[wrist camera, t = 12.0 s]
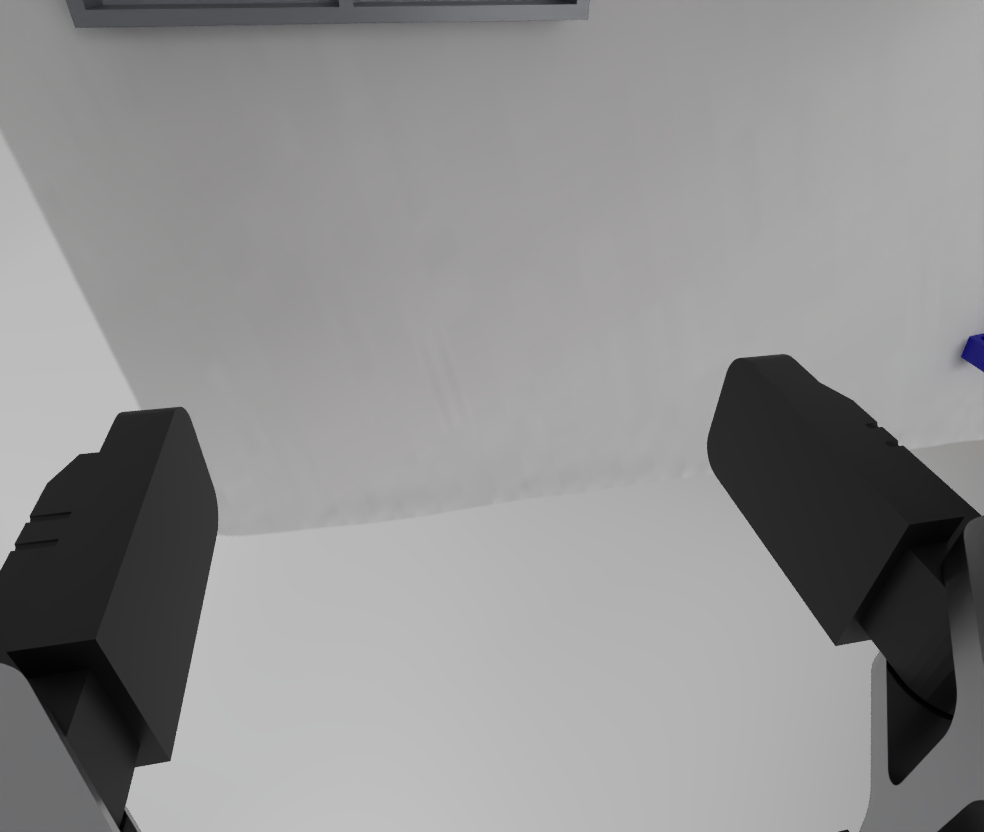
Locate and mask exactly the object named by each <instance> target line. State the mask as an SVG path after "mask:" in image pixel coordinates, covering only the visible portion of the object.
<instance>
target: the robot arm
mask: <svg viewBox="0 0 984 832" xmlns="http://www.w3.org/2000/svg"><path fill="white" fill-rule="evenodd" d="M707 452H708V458H709V462H710V465H711V468H712V470H713V472H714V474H715V475H716V477H717V478H718V480H719V481H720V483H721V484H722V485H723V487H724V488H725V489H726V491H727V492H728V494H729V495H730V497H731V498H732V500H733V501H734V502H735V504H736V505H737V507H738V508H739V510H740V511H741V512H742V514H743V515H744V517H745V518H746V519H747V520H748V522H749V524H750V525H751V526H752V528H753V529H754V531H755V532H756V534H757V535H758V537H759V538H760V539H761V541H762V542H763V544H764V545H765V547H766V548H767V549H768V551H769V552H770V554H771V555H772V556H773V558H774V559H775V561H776V562H777V563H778V565H779V566H780V568H781V569H782V571H783V572H784V574H785V575H786V576H787V578H788V579H789V581H790V582H791V583H792V585H793V586H794V587H795V589H796V591H797V592H798V593H799V595H800V596H801V598H802V599H803V601H804V602H805V603H806V605H807V606H808V607H809V609H810V610H811V612H812V613H813V615H814V616H815V618H816V619H817V620H818V622H819V623H820V625H821V626H822V627H823V629H824V630H825V632H826V633H827V635H828V636H829V637H830V639H831V640H832V642H833V643H834V644H835V646H838V645H843V644H849V643H855V642H860V641H866V640H872V641H873V642H874V644H875V645H876V646H877V648H878V649H879V650H880V651H879V653H878V654H877V656H876V657H875V659H874V661H873V664H872V670H871V792H870V800H869V805H868V809H867V813H866V816H865V819H864V821H863V824H862V826H861V829H860V831H859V832H984V516H981V515H980V514H979V513H978V512H977V511H976V510H975V509H974V508H972V507H971V506H970V505H969V504H968V503H967V502H966V501H965V500H963V499H962V498H961V497H960V496H959V495H958V494H957V493H956V492H954V491H953V490H952V489H951V488H950V487H949V486H948V485H947V484H946V483H944V482H943V481H942V480H941V479H940V478H939V477H938V476H937V475H935V474H934V473H933V472H932V471H931V470H930V469H929V468H927V466H925V465H924V464H923V463H922V462H921V461H920V460H919V459H918V458H917V457H915V456H914V455H913V454H912V453H911V452H910V451H909V450H908V449H907V448H905V447H904V446H899V445H898V440H896V439H895V438H894V437H893V436H892V435H891V434H890V433H889V432H888V431H886V430H885V429H884V428H883V427H878V426H877V422H876V421H875V420H874V419H873V418H872V417H871V416H870V415H869V414H867V413H866V412H865V411H864V410H863V409H862V408H861V407H860V406H858V405H857V404H856V403H855V402H854V401H853V400H851V399H849V398H847V397H846V396H844V395H842V394H840V393H838V392H836V391H834V390H833V389H831V388H829V387H827V386H825V385H823V384H821V383H820V382H819V381H817V380H816V379H815V378H814V377H813V376H812V375H811V374H810V373H809V372H808V371H807V370H806V369H804V368H803V367H802V366H801V365H800V364H799V363H798V362H797V361H796V360H795V359H793V358H792V357H791V356H789V355H785V354H780V355H769V356H758V357H747V358H738V359H736V360H734V361H733V362H732V363H731V365H730V366H729V368H728V371H727V373H726V377H725V380H724V384H723V387H722V390H721V394H720V397H719V401H718V404H717V407H716V411H715V414H714V418H713V421H712V424H711V428H710V431H709V435H708V440H707ZM217 531H218V506H217V499H216V494H215V490H214V486H213V483H212V481H211V478H210V475H209V472H208V469H207V466H206V463H205V460H204V457H203V454H202V451H201V448H200V445H199V442H198V439H197V436H196V433H195V430H194V427H193V424H192V421H191V419H190V416H189V414H188V413H187V411H186V410H185V409H184V408H183V407H174V408H163V409H152V410H140V411H131V412H121V413H119V414H118V415H117V417H116V419H115V420H114V422H113V424H112V426H111V429H110V431H109V433H108V435H107V437H106V439H105V442H104V444H103V446H102V448H101V450H100V452H99V453H88V454H79V455H78V456H77V457H76V458H75V459H74V460H73V461H72V462H71V463H69V465H67V466H66V467H65V468H64V469H63V470H62V471H61V472H59V473H58V474H57V475H56V476H55V477H54V478H53V479H52V480H51V481H50V482H48V483H47V485H46V487H45V489H44V490H43V492H42V494H41V496H40V498H39V500H38V502H37V504H36V505H35V507H34V509H33V511H32V513H31V515H30V523H26V524H25V526H24V528H23V530H22V531H21V533H20V535H19V537H18V539H17V541H16V543H15V547H16V549H15V551H11V552H10V554H9V556H8V558H7V559H6V561H5V563H4V565H3V567H2V569H1V570H0V832H141V830H140V829H139V827H138V825H137V824H136V822H135V820H134V819H133V817H132V815H131V814H130V812H129V810H128V809H127V808H126V806H125V805H126V800H127V797H128V792H129V789H130V784H131V780H132V776H133V772H134V768H135V767H139V766H145V765H150V764H156V763H162V762H168V761H170V760H171V755H172V751H173V746H174V741H175V736H176V731H177V726H178V721H179V716H180V712H181V707H182V702H183V697H184V692H185V687H186V683H187V677H188V673H189V668H190V663H191V658H192V653H193V648H194V643H195V639H196V634H197V629H198V624H199V619H200V614H201V609H202V605H203V599H204V595H205V590H206V585H207V580H208V575H209V570H210V565H211V561H212V556H213V551H214V546H215V541H216V536H217ZM840 832H849V831H848V830H844V831H840Z"/></svg>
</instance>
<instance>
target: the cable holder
mask: <svg viewBox="0 0 984 832" xmlns="http://www.w3.org/2000/svg"><path fill="white" fill-rule="evenodd" d="M961 357H962V358H963V359H965V360H966V361H968V362H969V363H971V364H972V365H974V366H975V367H977V368H978V369H980V370H981V371H983V372H984V334H979V335H975V336H970V337H969V339H968V342H967V344H966V347H965V349H964V351H963V354H962V356H961Z"/></svg>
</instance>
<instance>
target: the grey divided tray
mask: <svg viewBox="0 0 984 832" xmlns="http://www.w3.org/2000/svg"><path fill="white" fill-rule="evenodd" d="M66 2H67V5H68V8H69V10H70V13H71V16H72V19H73V22H74V25H75V28H89V27H153V26H217V25H280V24H344V23H408V22H472V21H536V20H588V14H589V2H590V0H66Z"/></svg>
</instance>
